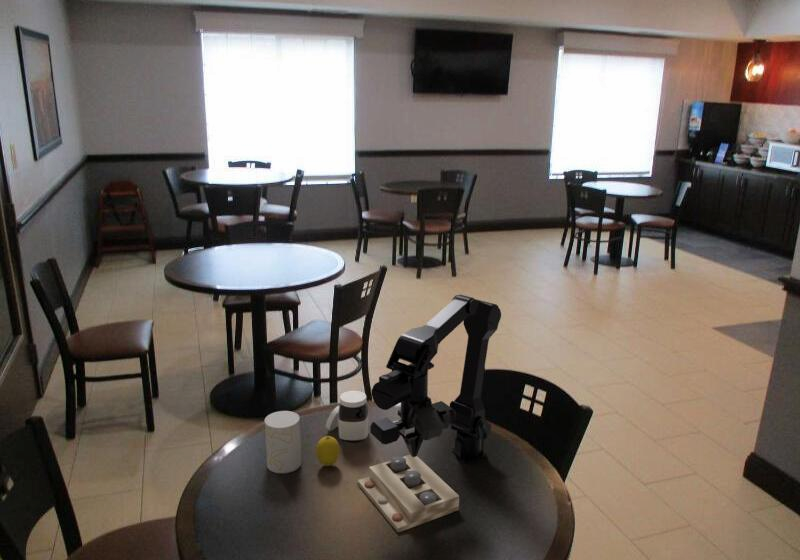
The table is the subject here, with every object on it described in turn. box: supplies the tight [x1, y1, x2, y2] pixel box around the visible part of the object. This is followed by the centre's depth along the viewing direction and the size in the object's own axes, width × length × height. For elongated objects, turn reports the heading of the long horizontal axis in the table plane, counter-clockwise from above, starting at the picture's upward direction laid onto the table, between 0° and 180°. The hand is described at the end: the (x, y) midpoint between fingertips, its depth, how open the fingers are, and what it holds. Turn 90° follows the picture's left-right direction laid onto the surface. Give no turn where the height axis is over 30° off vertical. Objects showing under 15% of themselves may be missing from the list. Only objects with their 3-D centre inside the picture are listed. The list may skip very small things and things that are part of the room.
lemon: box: [316, 435, 341, 467], centre depth 147 cm, size 6×6×8 cm
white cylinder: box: [264, 410, 302, 474], centre depth 147 cm, size 8×8×12 cm
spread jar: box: [325, 390, 369, 445], centre depth 161 cm, size 12×11×12 cm
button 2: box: [420, 492, 436, 505], centre depth 132 cm, size 4×4×2 cm
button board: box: [357, 453, 460, 533], centre depth 137 cm, size 15×19×4 cm
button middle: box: [404, 470, 421, 488], centre depth 137 cm, size 4×4×2 cm
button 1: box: [390, 455, 406, 473], centre depth 142 cm, size 4×4×2 cm
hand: (413, 456), depth 135 cm, fingers closed
